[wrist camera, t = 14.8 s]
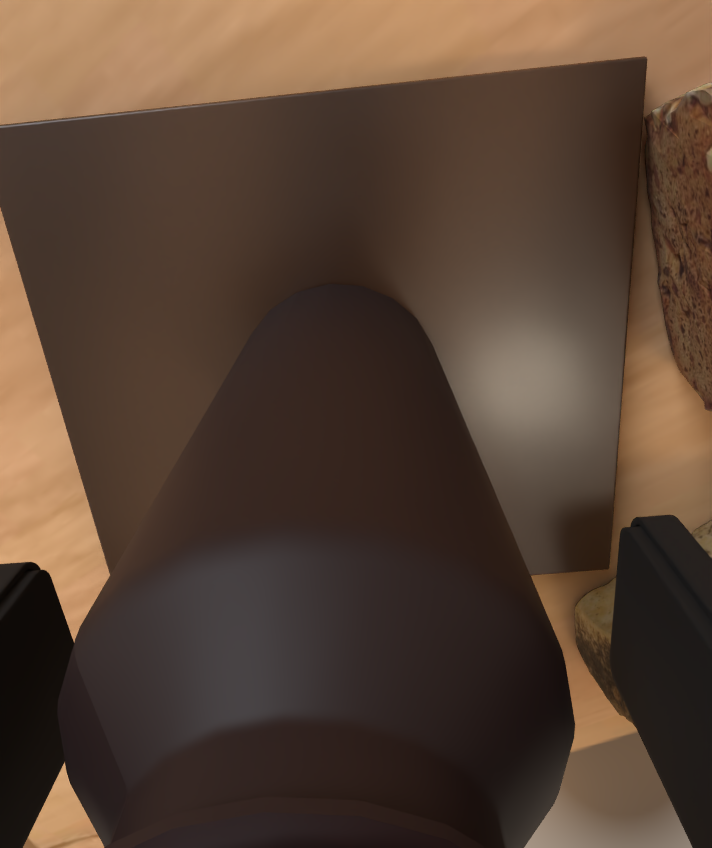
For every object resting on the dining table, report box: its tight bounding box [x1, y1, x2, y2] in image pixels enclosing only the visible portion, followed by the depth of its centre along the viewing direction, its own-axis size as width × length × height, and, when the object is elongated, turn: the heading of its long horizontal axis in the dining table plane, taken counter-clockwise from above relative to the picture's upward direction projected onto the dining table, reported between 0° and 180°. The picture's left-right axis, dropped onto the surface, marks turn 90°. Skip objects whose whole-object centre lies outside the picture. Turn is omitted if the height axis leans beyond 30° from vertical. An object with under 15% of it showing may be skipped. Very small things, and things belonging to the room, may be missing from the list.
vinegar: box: [57, 284, 575, 848], centre depth 13 cm, size 7×7×20 cm
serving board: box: [0, 57, 647, 575], centre depth 23 cm, size 20×18×2 cm
